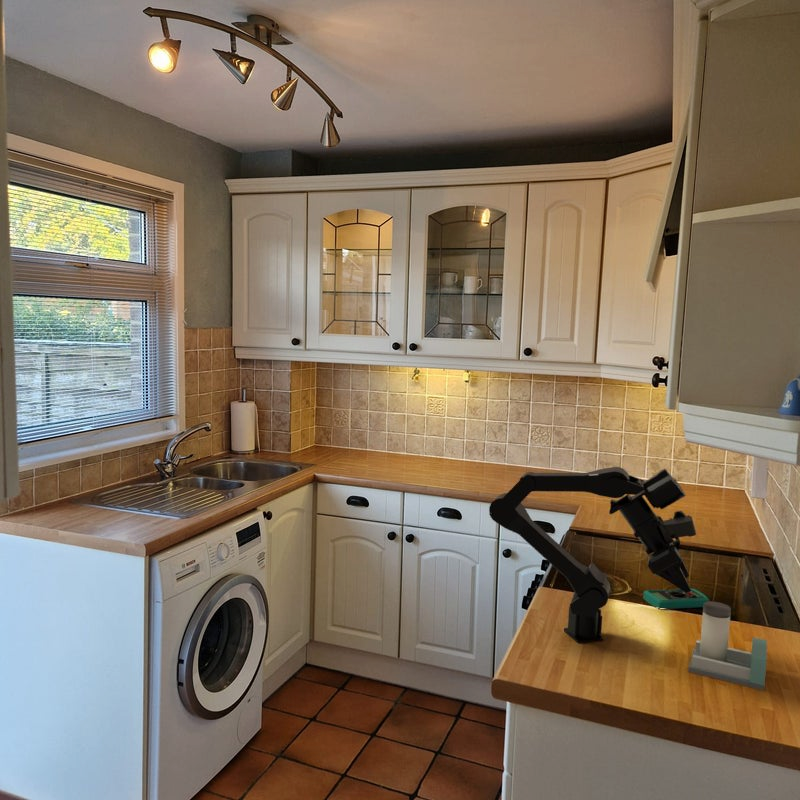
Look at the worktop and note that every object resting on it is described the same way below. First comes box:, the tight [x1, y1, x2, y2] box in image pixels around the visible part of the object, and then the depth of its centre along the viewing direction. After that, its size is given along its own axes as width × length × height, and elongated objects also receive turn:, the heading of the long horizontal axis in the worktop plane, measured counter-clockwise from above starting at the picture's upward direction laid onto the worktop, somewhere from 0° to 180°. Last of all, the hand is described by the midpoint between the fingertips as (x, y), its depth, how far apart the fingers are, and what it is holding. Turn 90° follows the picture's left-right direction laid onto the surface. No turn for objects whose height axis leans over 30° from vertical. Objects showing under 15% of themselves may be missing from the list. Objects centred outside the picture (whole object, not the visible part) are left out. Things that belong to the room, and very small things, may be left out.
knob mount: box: [688, 637, 768, 691], centre depth 135 cm, size 13×10×6 cm
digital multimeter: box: [642, 587, 710, 610], centre depth 170 cm, size 7×15×3 cm, turn 102°
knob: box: [700, 601, 732, 662], centre depth 136 cm, size 5×5×11 cm
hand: (687, 584), depth 140 cm, fingers open, 9 cm apart
